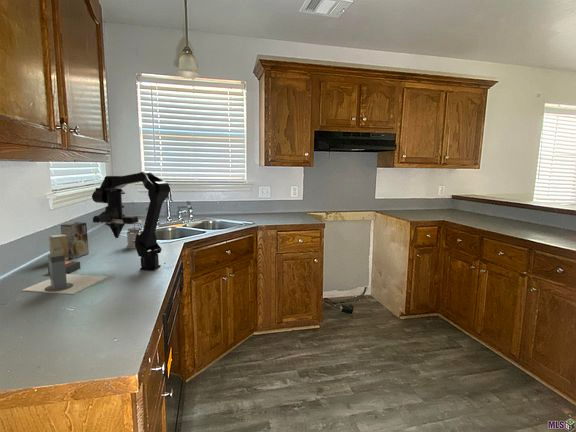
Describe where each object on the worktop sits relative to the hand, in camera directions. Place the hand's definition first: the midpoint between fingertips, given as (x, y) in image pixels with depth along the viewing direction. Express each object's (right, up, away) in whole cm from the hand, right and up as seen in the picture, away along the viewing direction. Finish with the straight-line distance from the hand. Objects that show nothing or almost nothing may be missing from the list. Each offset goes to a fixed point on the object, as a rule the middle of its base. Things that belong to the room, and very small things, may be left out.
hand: (116, 237), depth 148 cm
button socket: (-17, -13, -10) cm, 24 cm away
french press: (-7, -7, +35) cm, 36 cm away
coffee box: (-27, -10, +13) cm, 32 cm away
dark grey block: (-6, -16, -29) cm, 34 cm away
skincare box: (-28, -11, +3) cm, 31 cm away
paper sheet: (-6, -16, -25) cm, 30 cm away
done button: (-17, -13, -10) cm, 23 cm away
